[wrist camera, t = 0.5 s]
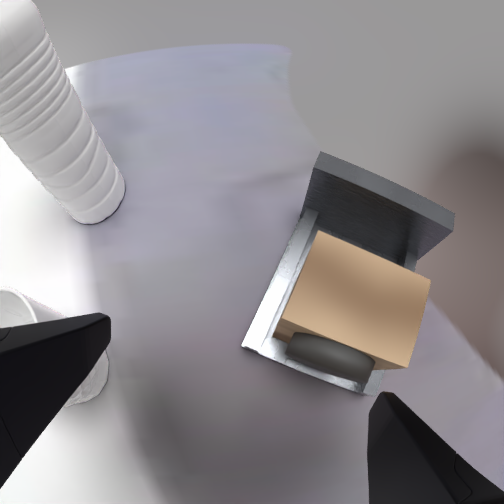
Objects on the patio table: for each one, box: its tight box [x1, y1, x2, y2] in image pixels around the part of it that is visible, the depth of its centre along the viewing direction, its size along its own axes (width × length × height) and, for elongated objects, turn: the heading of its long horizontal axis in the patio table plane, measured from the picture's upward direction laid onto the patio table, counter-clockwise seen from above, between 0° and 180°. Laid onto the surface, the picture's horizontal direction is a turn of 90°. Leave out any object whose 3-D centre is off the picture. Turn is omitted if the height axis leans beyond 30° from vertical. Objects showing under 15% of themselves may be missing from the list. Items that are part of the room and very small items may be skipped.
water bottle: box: [0, 0, 125, 224], centre depth 16 cm, size 9×6×25 cm
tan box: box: [272, 230, 431, 384], centre depth 18 cm, size 6×7×8 cm
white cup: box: [0, 287, 109, 407], centre depth 17 cm, size 8×8×10 cm
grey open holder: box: [241, 152, 455, 397], centre depth 20 cm, size 13×10×8 cm
